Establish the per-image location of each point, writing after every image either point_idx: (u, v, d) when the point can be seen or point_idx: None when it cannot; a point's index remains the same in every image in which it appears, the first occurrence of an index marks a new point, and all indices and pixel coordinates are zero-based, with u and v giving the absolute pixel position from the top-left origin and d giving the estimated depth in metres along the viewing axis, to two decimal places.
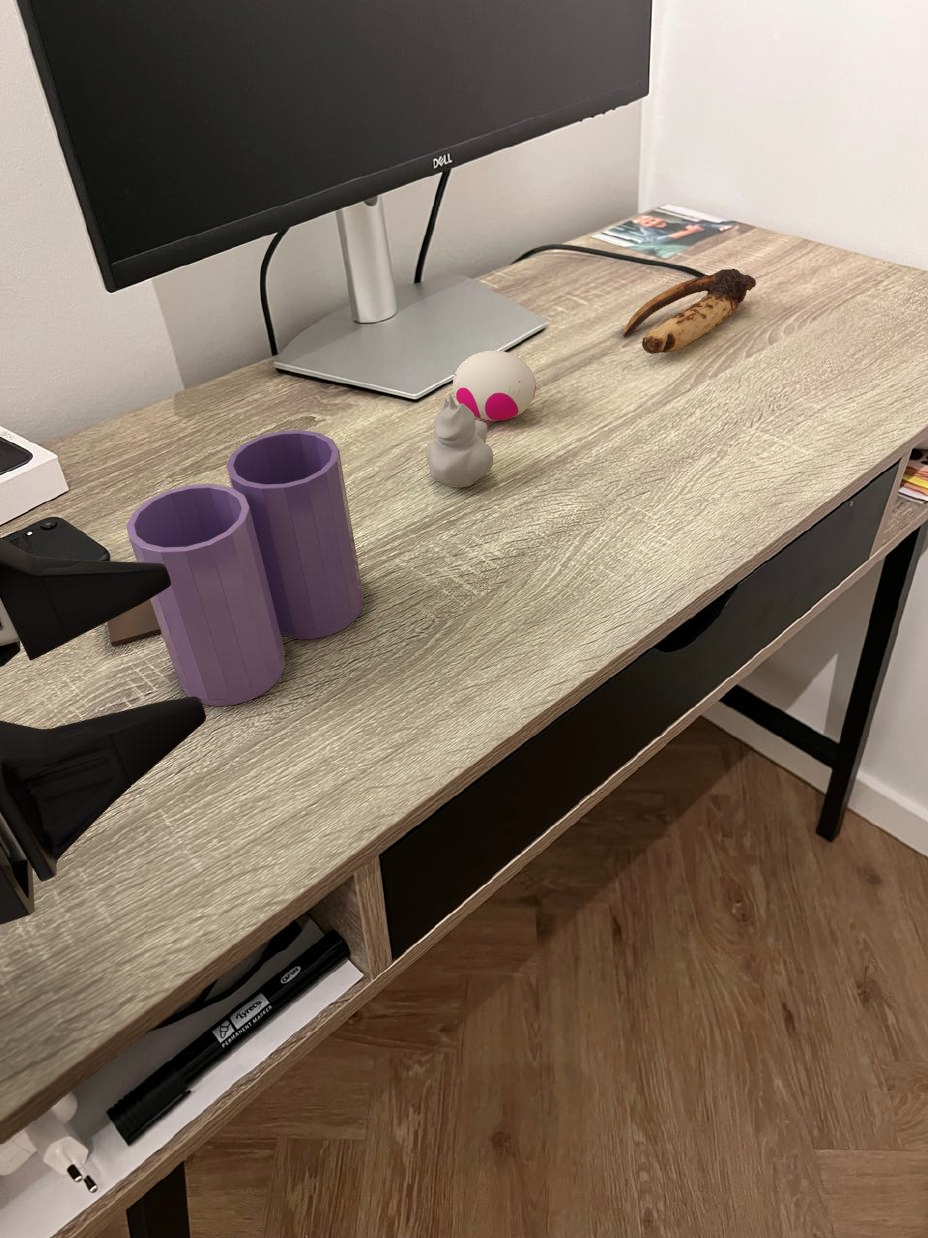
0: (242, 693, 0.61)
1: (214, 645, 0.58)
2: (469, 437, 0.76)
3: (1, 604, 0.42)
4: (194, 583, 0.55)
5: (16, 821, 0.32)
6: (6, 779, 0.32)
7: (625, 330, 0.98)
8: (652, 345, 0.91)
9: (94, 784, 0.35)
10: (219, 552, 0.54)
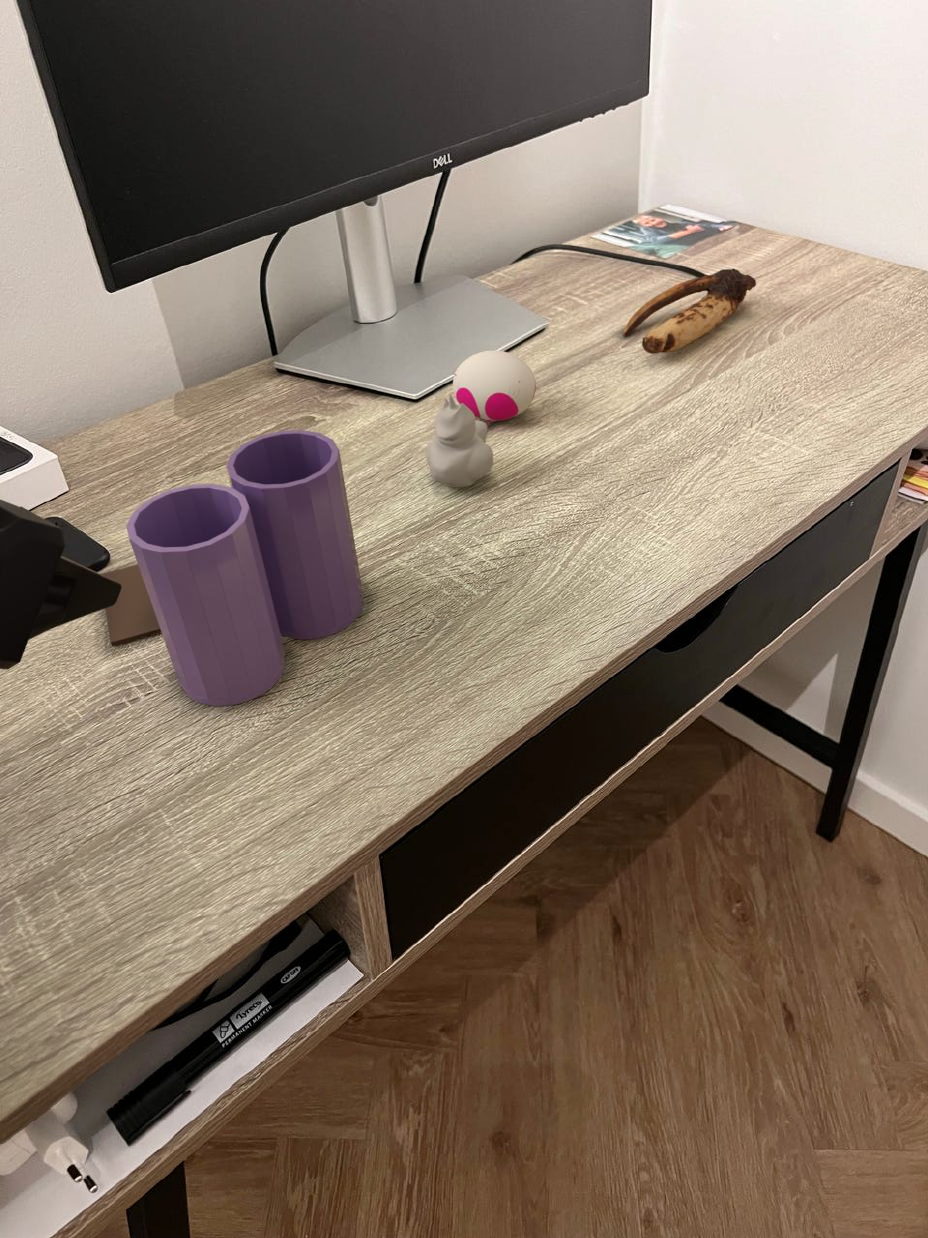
0: (242, 693, 0.61)
1: (214, 645, 0.58)
2: (469, 437, 0.76)
3: None
4: (194, 583, 0.55)
5: None
6: None
7: (625, 330, 0.98)
8: (652, 345, 0.91)
9: (48, 605, 0.43)
10: (219, 552, 0.54)
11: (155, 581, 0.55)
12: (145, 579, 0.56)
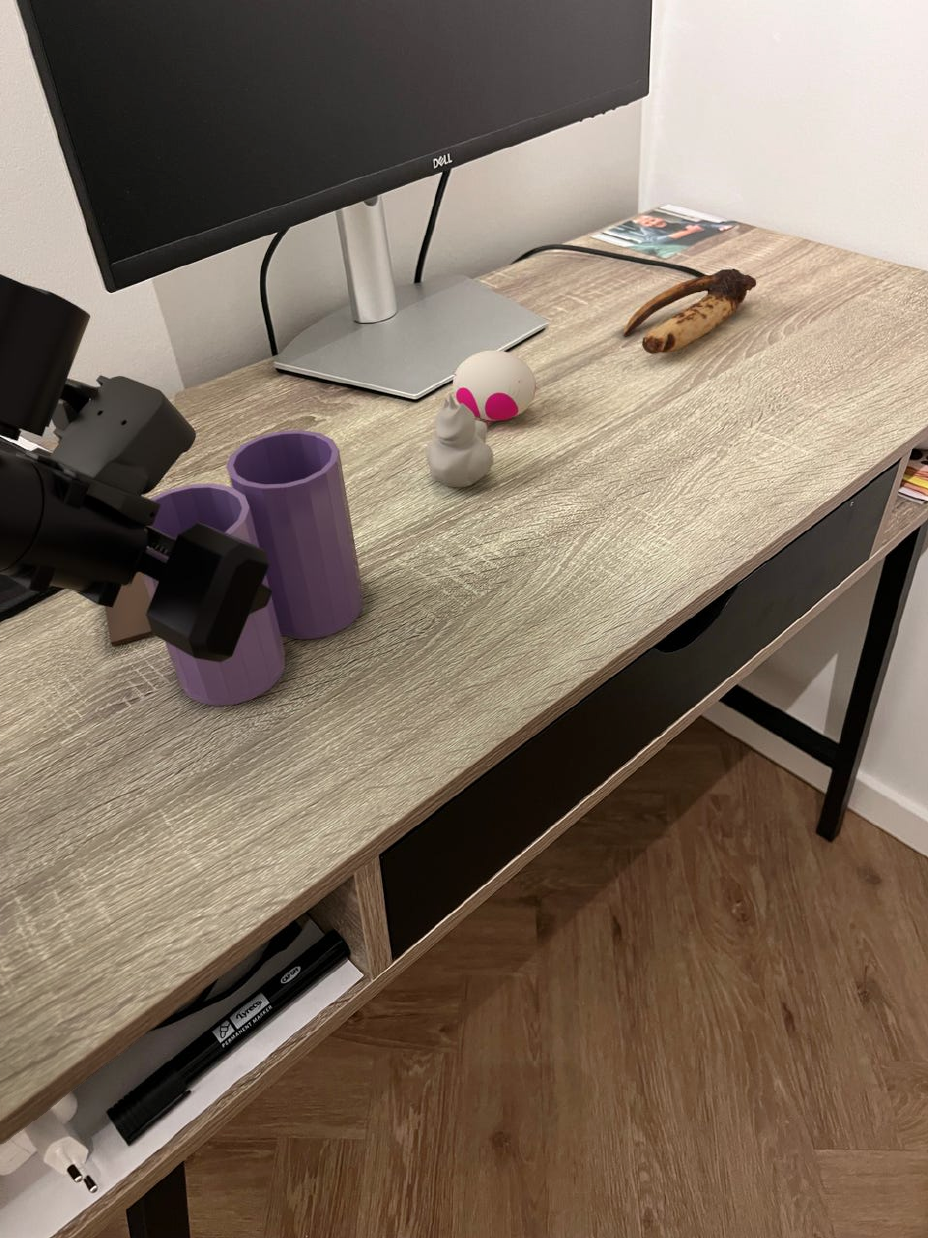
0: (242, 693, 0.61)
1: None
2: (469, 437, 0.76)
3: None
4: None
5: None
6: None
7: (625, 330, 0.98)
8: (652, 345, 0.91)
9: None
10: None
11: (155, 581, 0.55)
12: (145, 579, 0.56)
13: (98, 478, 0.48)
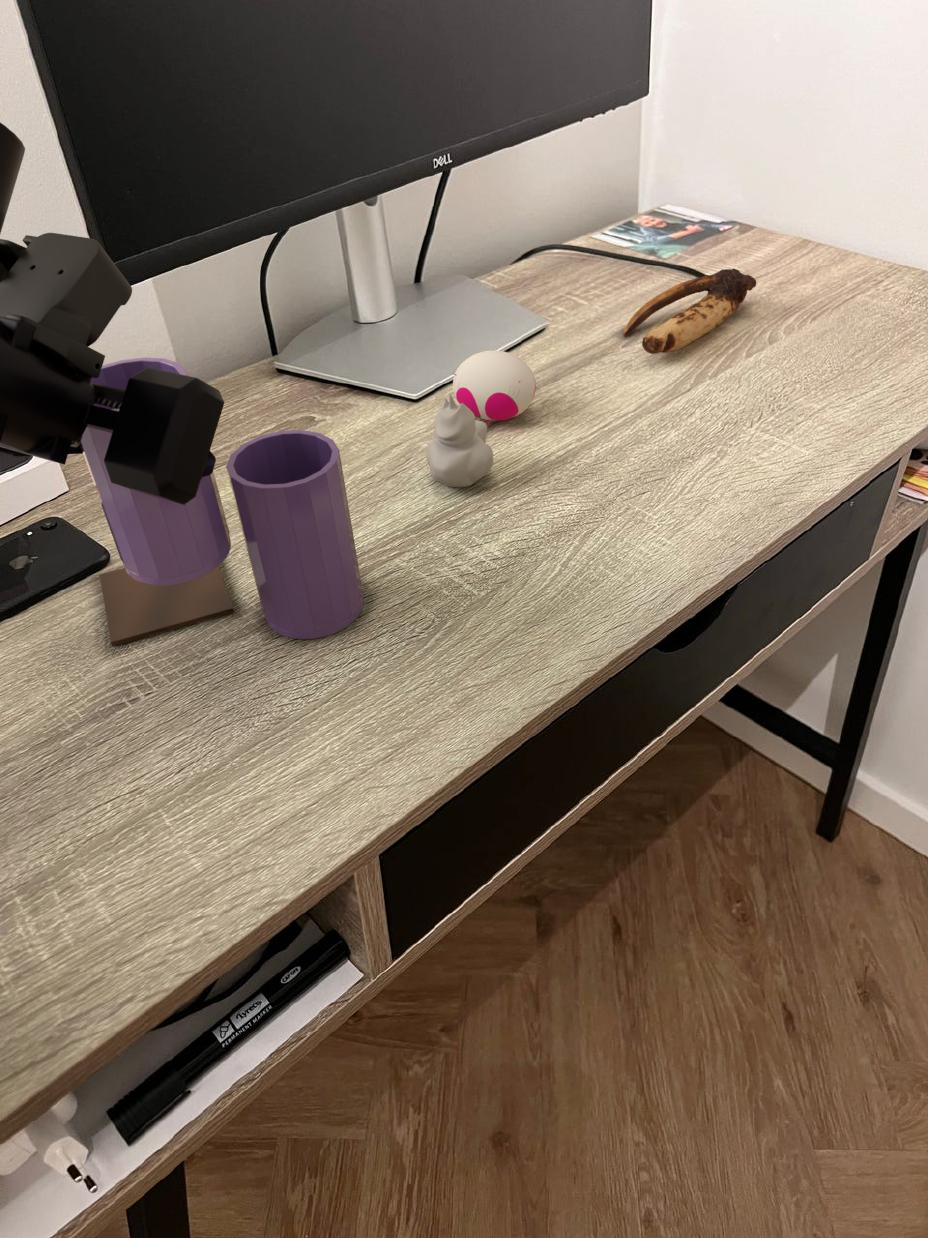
0: (193, 569, 0.61)
1: (163, 515, 0.58)
2: (469, 437, 0.76)
3: None
4: None
5: None
6: None
7: (625, 330, 0.98)
8: (652, 345, 0.91)
9: None
10: None
11: (99, 449, 0.55)
12: (87, 451, 0.56)
13: (42, 324, 0.48)
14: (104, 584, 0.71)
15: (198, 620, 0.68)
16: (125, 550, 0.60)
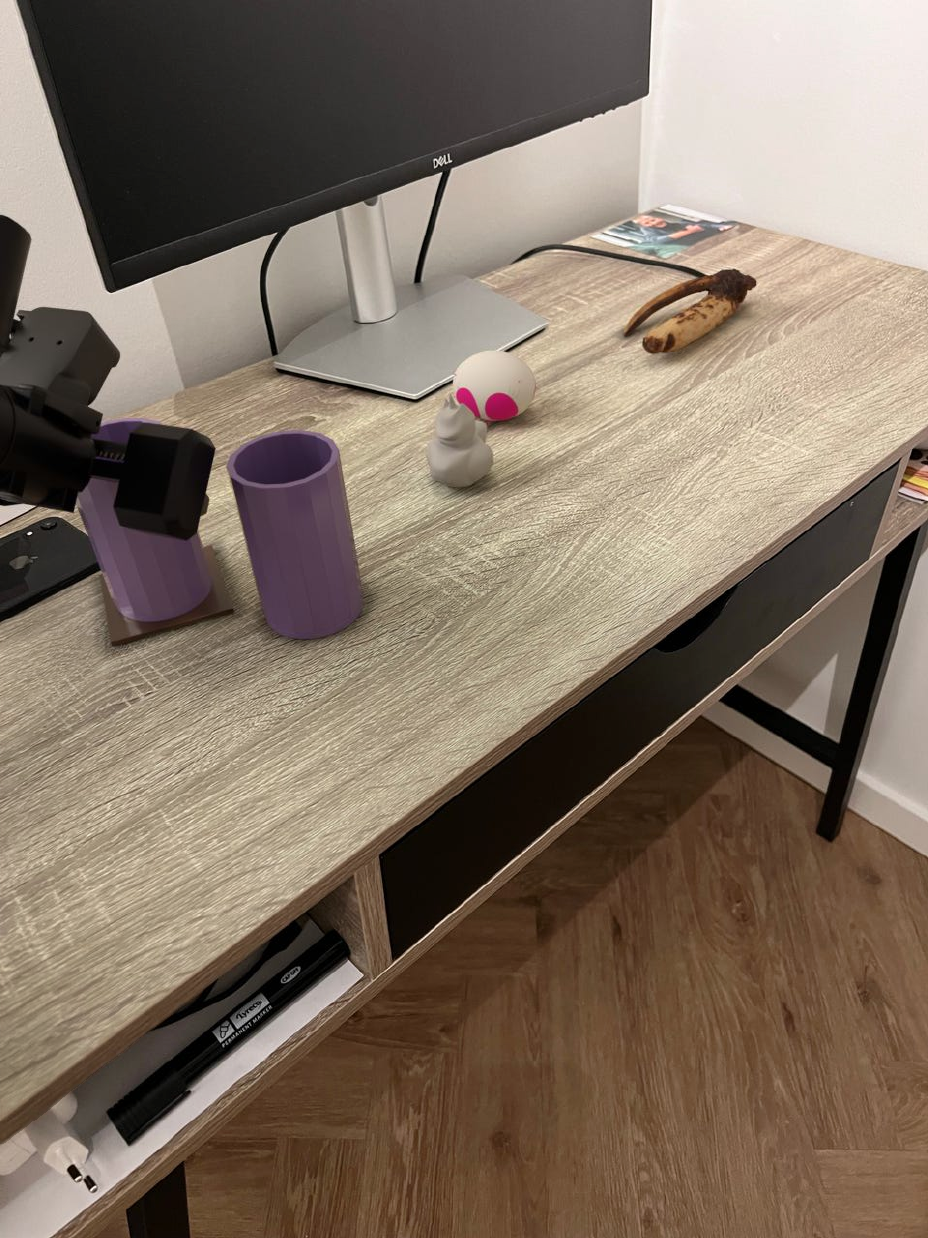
0: (183, 604, 0.67)
1: (157, 559, 0.64)
2: (469, 437, 0.76)
3: None
4: None
5: None
6: None
7: (625, 330, 0.98)
8: (652, 345, 0.91)
9: None
10: None
11: (98, 504, 0.61)
12: (85, 506, 0.62)
13: (50, 390, 0.54)
14: (104, 584, 0.71)
15: (198, 620, 0.68)
16: (120, 592, 0.66)
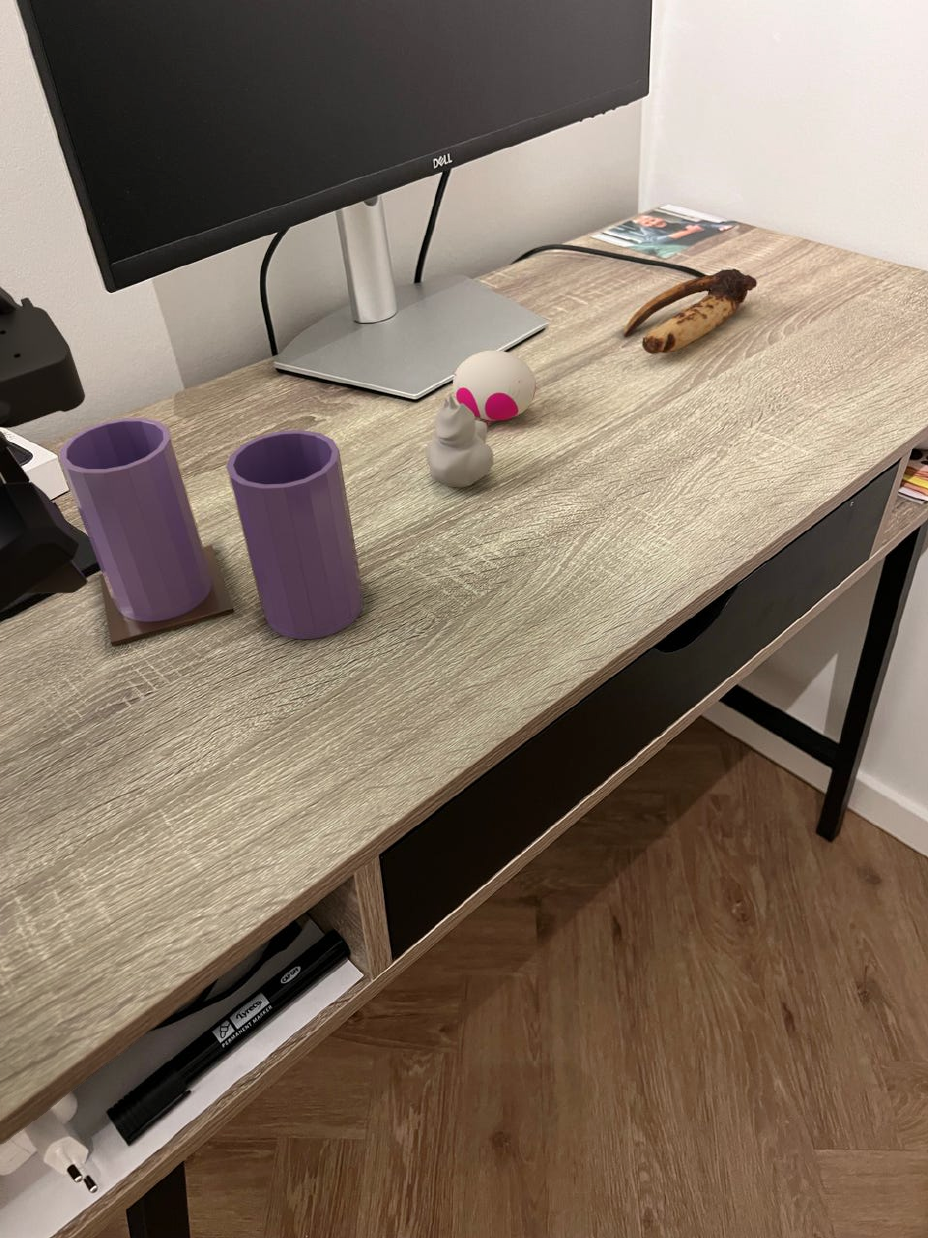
0: (183, 604, 0.67)
1: (157, 559, 0.64)
2: (469, 437, 0.76)
3: None
4: (136, 499, 0.61)
5: None
6: None
7: (625, 330, 0.98)
8: (652, 345, 0.91)
9: None
10: (155, 467, 0.61)
11: (98, 504, 0.61)
12: (85, 506, 0.62)
13: None
14: (104, 584, 0.71)
15: (198, 620, 0.68)
16: (120, 592, 0.66)
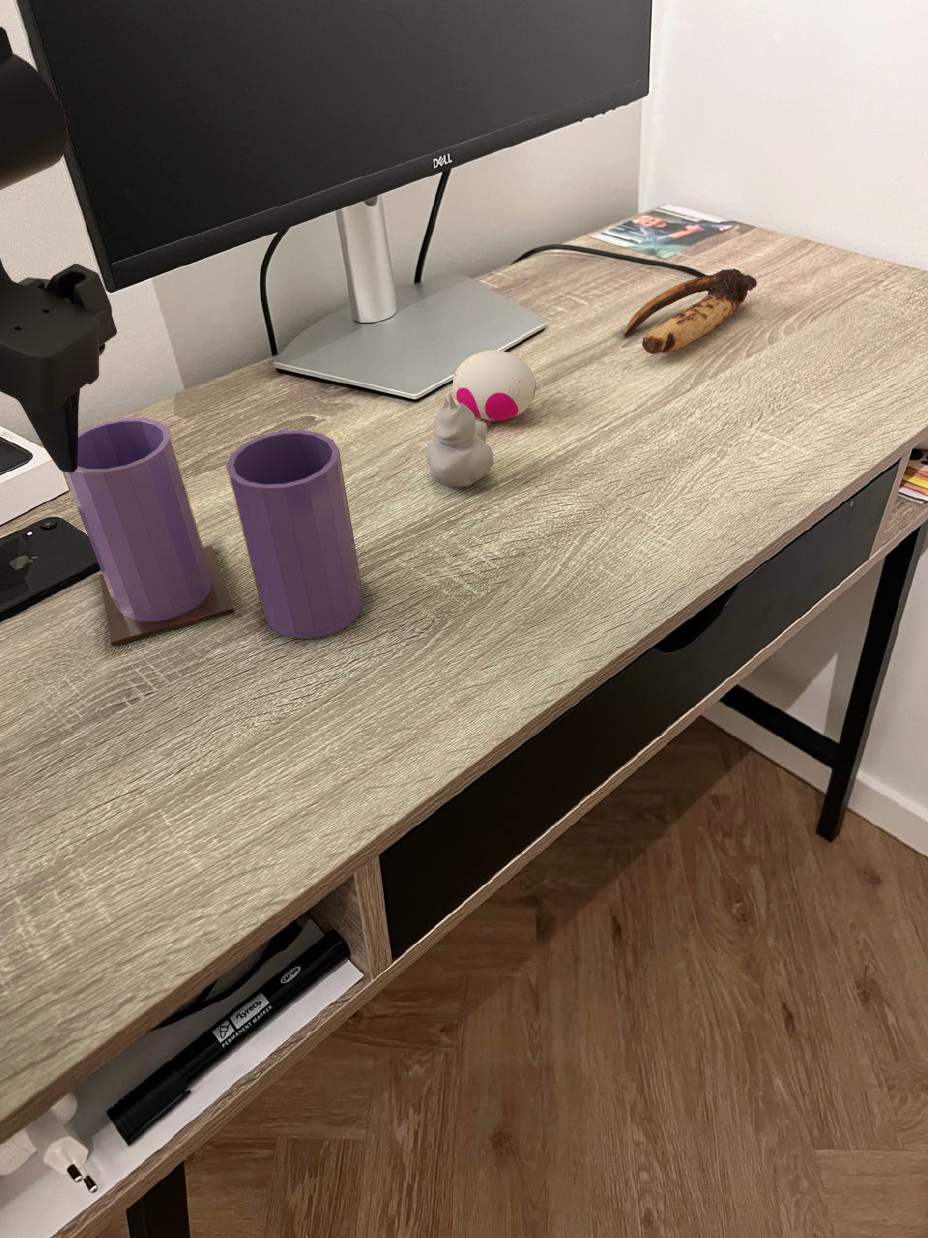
0: (183, 604, 0.67)
1: (157, 559, 0.64)
2: (469, 437, 0.76)
3: None
4: (136, 499, 0.61)
5: None
6: None
7: (626, 330, 0.98)
8: (652, 345, 0.91)
9: None
10: (155, 467, 0.61)
11: (98, 504, 0.61)
12: (85, 506, 0.62)
13: None
14: (104, 584, 0.71)
15: (198, 620, 0.68)
16: (120, 592, 0.66)
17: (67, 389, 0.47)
